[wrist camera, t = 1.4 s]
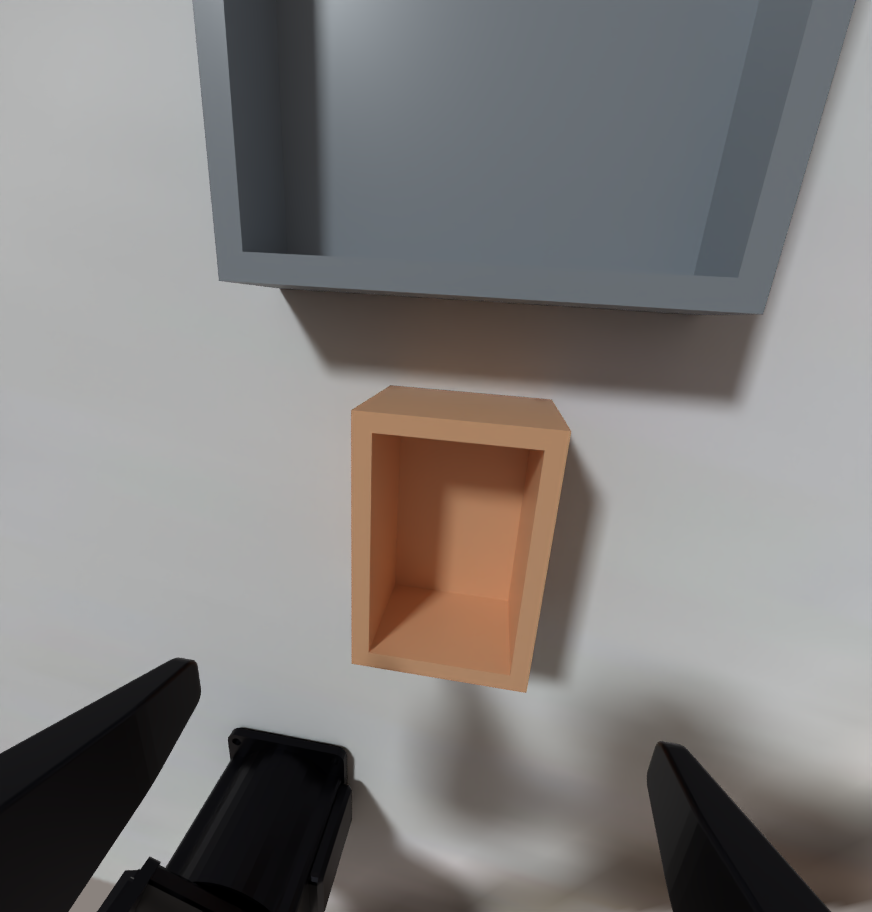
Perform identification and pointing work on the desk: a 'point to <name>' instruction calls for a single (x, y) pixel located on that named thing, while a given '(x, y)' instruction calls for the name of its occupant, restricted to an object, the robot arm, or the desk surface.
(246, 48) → the big crate
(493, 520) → the small crate
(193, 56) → the desk surface
